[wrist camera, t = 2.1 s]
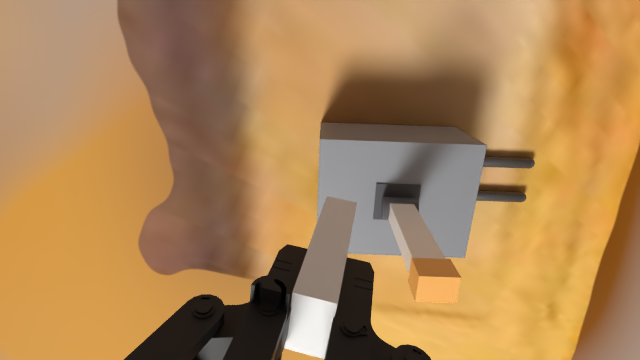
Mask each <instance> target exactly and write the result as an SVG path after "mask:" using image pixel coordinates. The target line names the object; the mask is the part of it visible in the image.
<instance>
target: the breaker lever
mask: <svg viewBox="0 0 640 360" xmlns="http://www.w3.org/2000/svg"><path fill="white" fill-rule="evenodd" d="M381 214H382V219H388V220H389V222H390V225H391V228H392V230H393V233H394V236H395V238H396V241H397V244H398V247H399V249H400V252H401V255H402V257H403V260H404V263H405V265H406V268H407V271H408V273H409V279H408V283H409V286H410V289H411V291H412V294H413V297H414V300H415V302H436V303H456V302H457V297H458V292H459V287H460V282H461V276H460V275H459V273H458V271H457V270H456V268H455V266H454V265H453V263H452V261H451V260H450V259H446V258H445V257H444V255H443V253H442V251H441V250H440V248H439V246H438V245H437V243H436V241H435V239H434V238H433V236H432V234H431V233H430V231H429V229H428V227H427V226H426V224H425V222H424V220H423V219H422V217H421V215H420V214H419V202H418V199H417V198H400V197H383V198H382V204H381Z"/></svg>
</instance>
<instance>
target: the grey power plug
mask: <svg viewBox="0 0 640 360" xmlns="http://www.w3.org/2000/svg"><path fill="white" fill-rule="evenodd" d="M486 147H487V145H486V144H484V143H482V142H481V141H479V140H477V139H475V138H474V137H472V136H470V135H468V134H467V133H465V132H463V131H462V130H460V129H458V128H456V127H445V126H417V125H388V124H359V123H330V122H321V130H320V149H319V180H318V211H317V222H318V219H319V216H320V214H321V211H322V208H323V205H324V202H325V200H326V197H327V196H329V197H333V198H338V199H343V200H347V201H352V202H356V203H357V206H356V211H355V217H354V222H353V227H352V232H351V237H350V243H349V248H348V253H347V254H373V255H401V252H400V249H399V247H398V244H397V241H396V238H395V236H394V233H393V230H392V228H391V225H390V222H389V220H388V219H382V214H381V204H382V198H383V197H400V198H417V199H418V202H419V214H420V215H421V217H422V219H423V220H424V222H425V224H426V226H427V227H428V229H429V231H430V233H431V234H432V236H433V238H434V239H435V241H436V243H437V245H438V246H439V248H440V250H441V251H442V253H443V255H444V257H456V258H465V255H466V250H467V244H468V239H469V234H470V229H471V224H472V219H473V214H474V209H475V204H476V201H504V202H523V201H525V200H526V195H525V194H524V193H522V192H502V191H478V188H479V183H480V178H481V173H482V168H483V167H504V168H532V167H533V166H534V164H535V162H534V160H533V159H531V158H512V157H485V153H486ZM401 256H402V255H401Z"/></svg>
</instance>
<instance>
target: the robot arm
mask: <svg viewBox="0 0 640 360" xmlns="http://www.w3.org/2000/svg"><path fill="white" fill-rule="evenodd" d="M356 206H357V203H356V202H352V201H347V200H343V199H338V198H333V197H329V196H327V197H326V200H325V202H324V205H323V208H322V211H321V214H320V216H319V219H318V222H317V225H316V228H315V231H314V233H313V236H312V239H311V242H310V245H309V247H308V249H305V248H301V247H297V246H293V245H288V244H287V245H286V246H285V247H283V248H282V249H281V250H279V252H278V254H277V257H276V259H275V261H274V263H273V265H272V268H271V269H270V271H269V274H268V275H267V276H262V277H260V278H258V279H256V280H255V281H254V282H253V283H252V285H251V296H250V302H248V303H245V304H242V305H224V304H223V302H222V300H221V299H219V298H218V297H217V296H213V295H210V294H209V295H199V296H196V297H193V298H192V299H190V300H189V301H187V303H185V304H184V305H183V306H182V307H181V308H180V309H179V310H178V311H176V312H175V313H174V315H172V316H171V317H170V318H169V319H168V320H167V321H166V322H164V323H163V324H162V325H161V326H160V327H159V328H158V329H157V330H156V331H155V332H154V333H152V334H151V335H150V336H149V337H148V338H147V339H146V340H145V341H144V342H143V343H142V344H140V345H139V346H138V347H137V348H136V349H135V350H134V351H133V352H132V353H131V354H129V355H128V356H127V357H126V358H125V359H124V360H281V356H282V351H283V349H284V345H285V348H286V349H290V350H293V351H296V352H301V353H304V354H308V355H311V356H315V357H319V358H323V359H324V360H431V358H430V357H429V356H428V355H427V354H426V353H425V352H424V351H423V350H421V349H420V348H418V347H416V346H412V345H408V344H407V345H400V346H399V347H397V348H394V347H393V346H391V345H389V344H387V343H386V342H384V341H383V340H381V339H380V338H379V337H378V336H377V335H376V334H375V332H374V330H373V329H372V326H371V308H372V295H373V282H374V271H373V269H372V266H371V264H370V263H368V262H364V261H360V260H356V259H351V258H347V253H348V248H349V243H350V237H351V232H352V227H353V222H354V217H355V211H356Z"/></svg>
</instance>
